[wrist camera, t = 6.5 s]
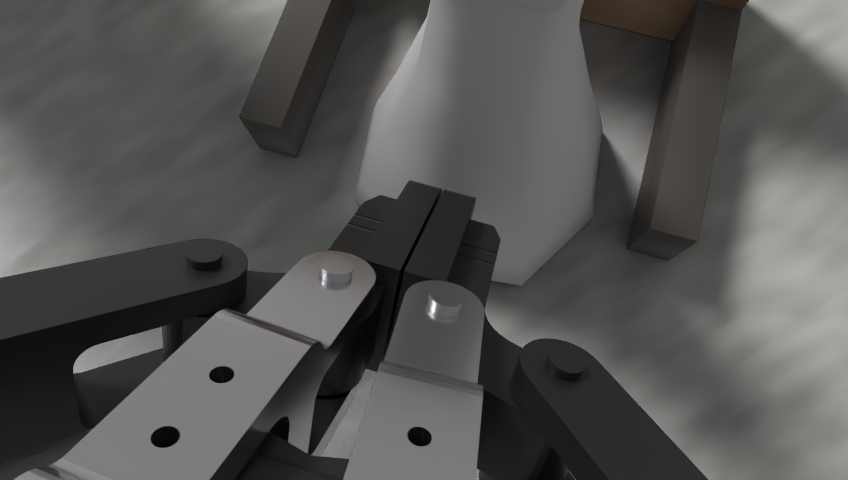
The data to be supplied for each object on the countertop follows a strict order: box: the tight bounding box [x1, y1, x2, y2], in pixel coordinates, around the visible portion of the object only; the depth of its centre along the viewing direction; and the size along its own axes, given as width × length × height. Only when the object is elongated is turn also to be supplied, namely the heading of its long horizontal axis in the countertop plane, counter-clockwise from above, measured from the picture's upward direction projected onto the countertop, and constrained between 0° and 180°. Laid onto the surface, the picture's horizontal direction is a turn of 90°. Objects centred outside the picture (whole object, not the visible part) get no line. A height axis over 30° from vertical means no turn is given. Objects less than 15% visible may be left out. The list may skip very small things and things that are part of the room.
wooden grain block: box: [239, 0, 749, 260], centre depth 16 cm, size 12×10×6 cm
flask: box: [353, 0, 602, 286], centre depth 13 cm, size 7×7×10 cm
